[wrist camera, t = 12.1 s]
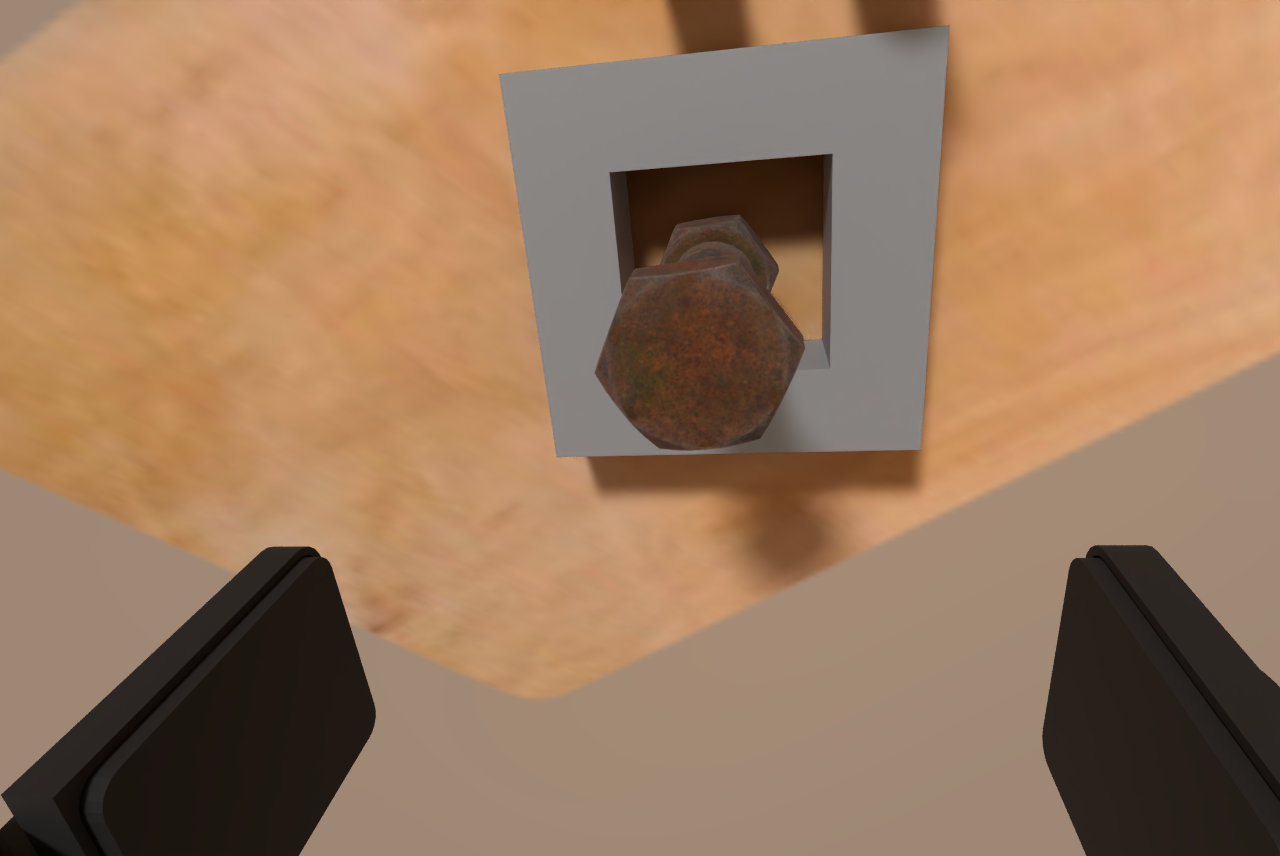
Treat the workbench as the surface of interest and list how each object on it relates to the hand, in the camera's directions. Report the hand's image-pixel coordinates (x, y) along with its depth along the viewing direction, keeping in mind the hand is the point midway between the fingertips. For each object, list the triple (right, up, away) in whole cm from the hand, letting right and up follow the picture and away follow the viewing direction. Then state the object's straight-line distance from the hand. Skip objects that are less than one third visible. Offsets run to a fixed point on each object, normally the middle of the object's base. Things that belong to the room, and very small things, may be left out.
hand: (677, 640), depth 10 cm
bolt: (+3, +11, +24) cm, 27 cm away
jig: (+3, +11, +24) cm, 26 cm away
